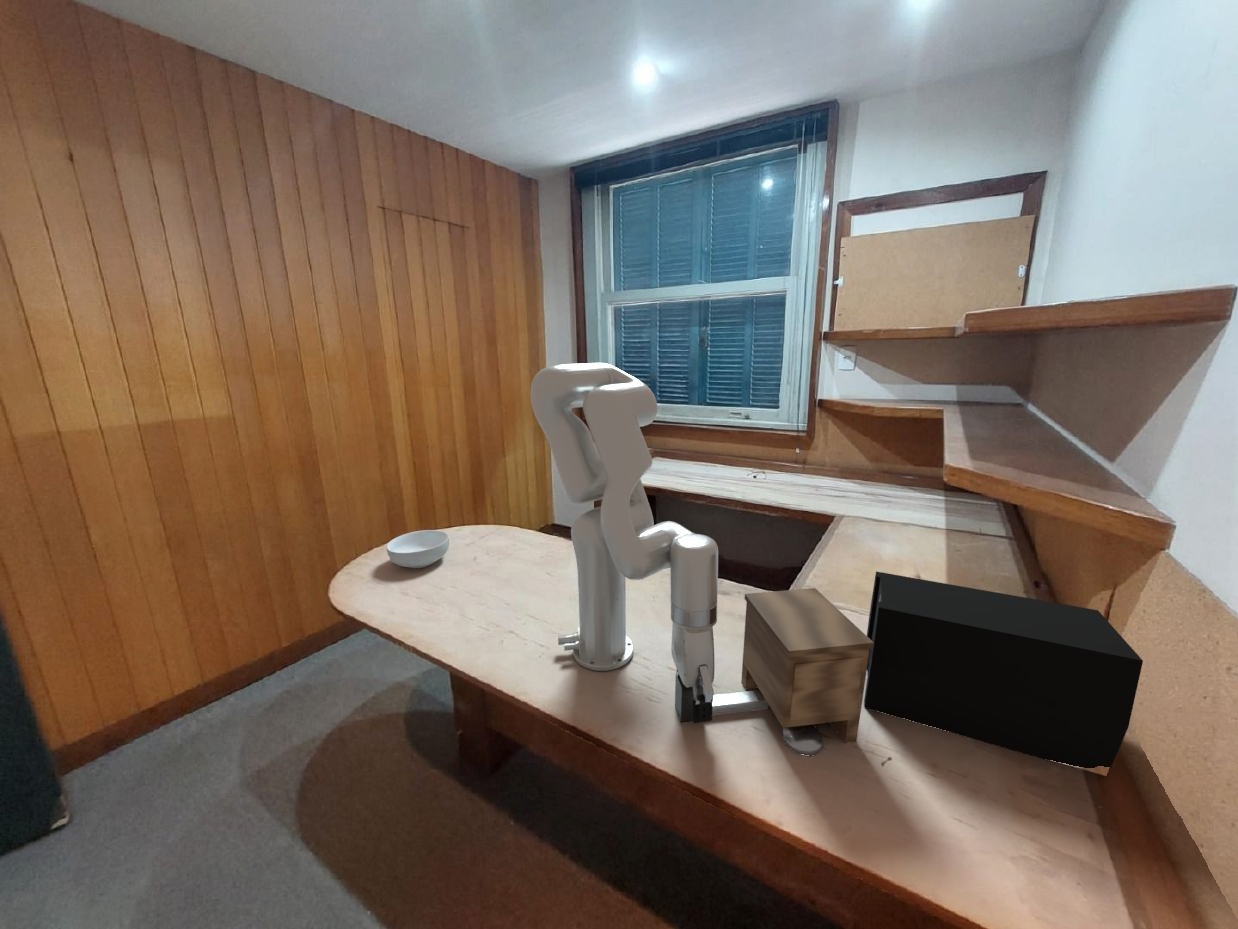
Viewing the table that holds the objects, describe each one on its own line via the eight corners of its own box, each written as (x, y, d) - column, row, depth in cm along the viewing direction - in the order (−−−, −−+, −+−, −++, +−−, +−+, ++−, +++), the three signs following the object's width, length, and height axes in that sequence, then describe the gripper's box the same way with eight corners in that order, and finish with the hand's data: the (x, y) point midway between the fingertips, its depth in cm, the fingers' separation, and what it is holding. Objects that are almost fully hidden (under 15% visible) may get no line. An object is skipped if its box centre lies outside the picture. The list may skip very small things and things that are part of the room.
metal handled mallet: (680, 723, 81) (681, 688, 79) (674, 705, 85) (675, 672, 83) (769, 712, 83) (772, 678, 81) (760, 696, 87) (762, 663, 85)
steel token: (800, 762, 73) (800, 754, 73) (774, 734, 79) (775, 726, 79) (830, 749, 75) (831, 741, 75) (803, 722, 81) (804, 715, 81)
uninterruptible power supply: (863, 658, 97) (875, 568, 92) (1079, 711, 83) (1108, 608, 78) (864, 712, 83) (879, 610, 78) (1125, 788, 69) (1164, 669, 64)
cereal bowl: (439, 545, 152) (437, 525, 151) (459, 563, 140) (457, 541, 138) (382, 561, 142) (379, 539, 140) (398, 582, 130) (395, 558, 128)
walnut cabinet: (779, 753, 75) (789, 651, 70) (739, 681, 91) (744, 593, 86) (859, 743, 77) (873, 642, 72) (806, 673, 92) (815, 588, 88)
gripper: (659, 587, 86) (660, 670, 90) (686, 643, 69) (685, 742, 73) (699, 583, 87) (699, 665, 90) (735, 637, 70) (732, 736, 74)
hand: (693, 699), depth 82 cm, fingers open, 9 cm apart
